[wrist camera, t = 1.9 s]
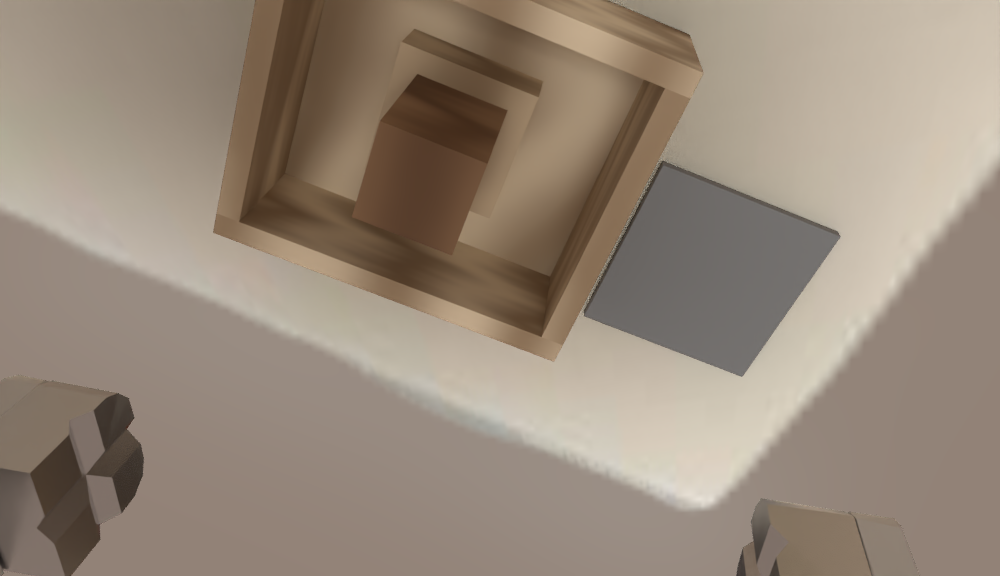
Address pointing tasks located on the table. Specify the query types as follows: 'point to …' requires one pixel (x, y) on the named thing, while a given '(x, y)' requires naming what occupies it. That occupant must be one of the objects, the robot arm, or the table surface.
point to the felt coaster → (708, 270)
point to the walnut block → (428, 163)
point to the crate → (511, 167)
